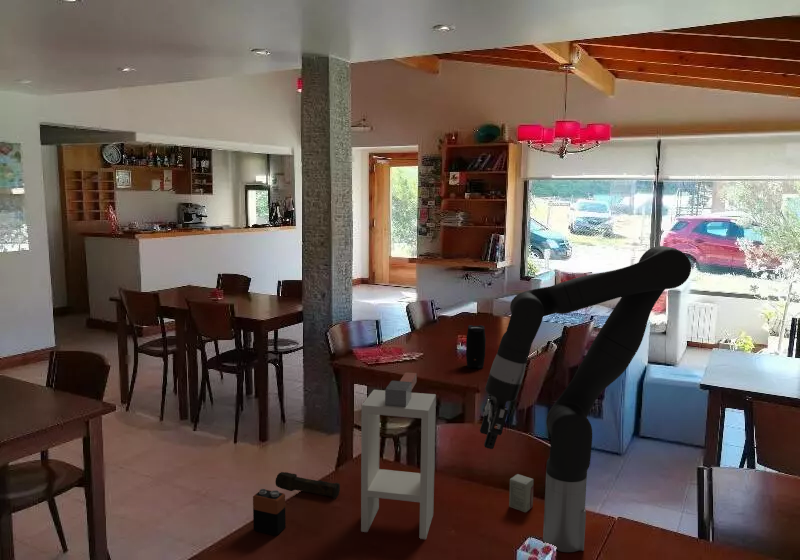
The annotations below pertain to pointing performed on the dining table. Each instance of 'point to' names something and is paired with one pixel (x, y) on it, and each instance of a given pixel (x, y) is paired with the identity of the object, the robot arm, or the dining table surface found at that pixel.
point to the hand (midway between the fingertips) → (486, 440)
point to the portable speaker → (475, 346)
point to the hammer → (400, 390)
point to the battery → (269, 512)
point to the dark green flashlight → (307, 485)
